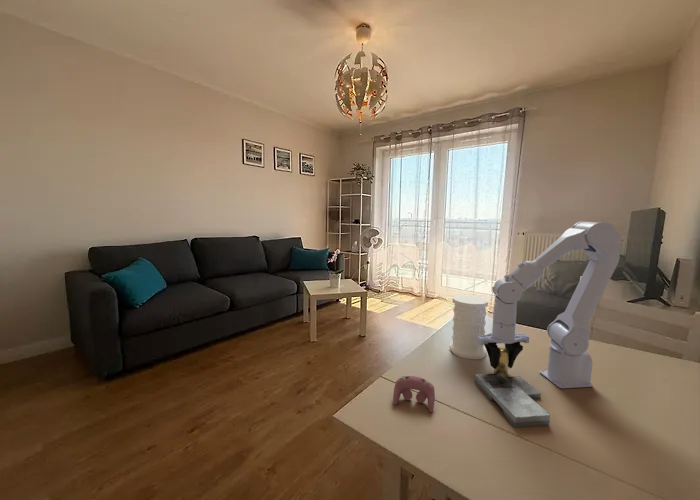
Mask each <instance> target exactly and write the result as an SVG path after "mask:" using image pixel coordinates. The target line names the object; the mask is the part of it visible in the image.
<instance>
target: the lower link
mask: <svg viewBox="0 0 700 500" xmlns="http://www.w3.org/2000/svg"><path fill="white" fill-rule="evenodd" d="M507 377H508V378H509V379H510V380H511V381H513V382H514V383H515V384H516V385H517V386H518V387H519V388H520V389H521V390H523V391H524V392H525V393H526V394H527V395H528V396H529V397H530V398H532V399H533V400H534V399H541V398H542V394H541V392H539V391H538V389H536V388H534V386H532V385H531V384H530V383H529V382H528V381H526V380H525V379H524V378H523V377H522V376H521V375H516V376H515V375H514V376H513V375H512V376H507ZM487 382H488V383H489V384H490V385H491V386H494V385H496V386H497V385H501V386H502V388H509V387H508V386H507V385H506V384H504V383H503V382H502V381H501V380H494V381H487ZM474 383H475V385H476V386H477V387H478V388H479V389H480V390H481V391H482V392H483V394H484V395H485V396H486V397H487V399H489V400H490V401H491V402H496V401H495V400H494V399H493V398H492V397H491V396H490V394H489V393H488V392H487V391H486V390H485V389H484V388H483V387H482V386H481V385H480V383H479V382H478V381H477V380H476V379H475V378H474Z"/></svg>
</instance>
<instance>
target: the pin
mask: <svg viewBox="0 0 700 500" xmlns="http://www.w3.org/2000/svg"><path fill="white" fill-rule="evenodd" d="M497 347H498V348H500V349H501V351H500V353H499V356H498V364H497V369H494V368H493V373H504V374H505V375H506V376H507V377H508V375H509V367H508V363H509V350H508V349H505V347H499V346H497Z"/></svg>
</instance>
